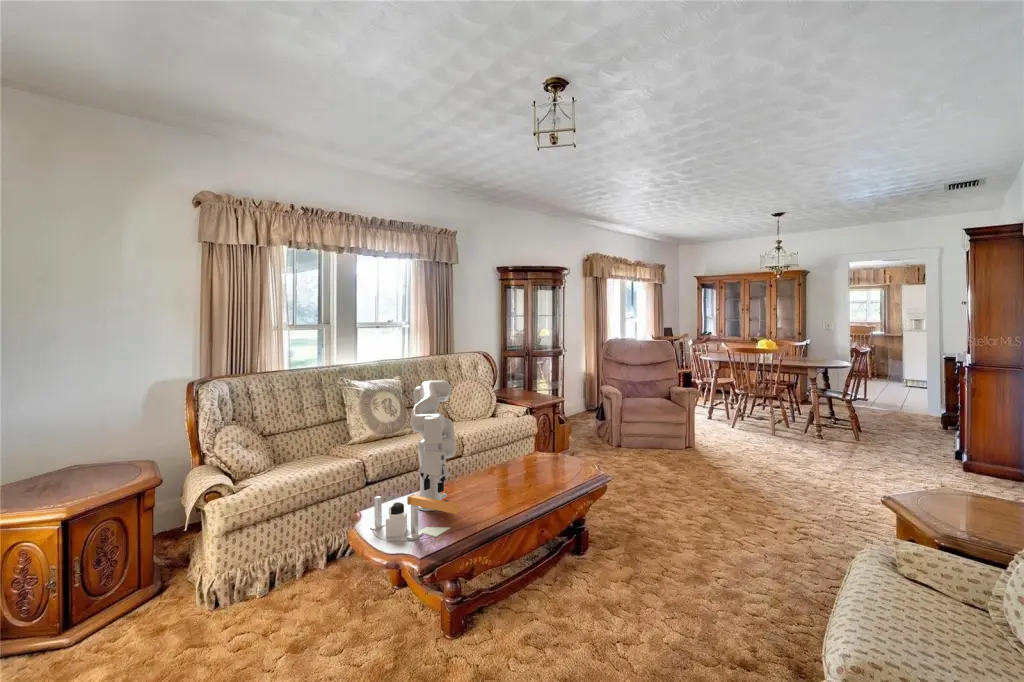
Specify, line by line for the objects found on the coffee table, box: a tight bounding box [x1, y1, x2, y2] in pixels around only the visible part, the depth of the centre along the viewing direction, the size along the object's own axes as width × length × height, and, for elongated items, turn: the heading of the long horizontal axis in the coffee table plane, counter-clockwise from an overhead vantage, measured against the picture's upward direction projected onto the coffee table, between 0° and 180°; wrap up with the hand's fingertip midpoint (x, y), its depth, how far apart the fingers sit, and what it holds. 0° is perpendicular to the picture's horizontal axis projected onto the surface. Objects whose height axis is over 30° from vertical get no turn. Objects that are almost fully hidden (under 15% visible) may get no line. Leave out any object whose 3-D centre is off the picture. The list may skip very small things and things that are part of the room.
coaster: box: [418, 526, 450, 538], centre depth 191 cm, size 10×10×1 cm
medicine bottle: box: [385, 501, 408, 538], centre depth 189 cm, size 7×7×12 cm
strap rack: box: [369, 495, 424, 542], centre depth 190 cm, size 6×23×13 cm, turn 61°
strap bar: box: [406, 494, 460, 515], centre depth 180 cm, size 3×23×3 cm, turn 61°
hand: (433, 490), depth 190 cm, fingers open, 6 cm apart
